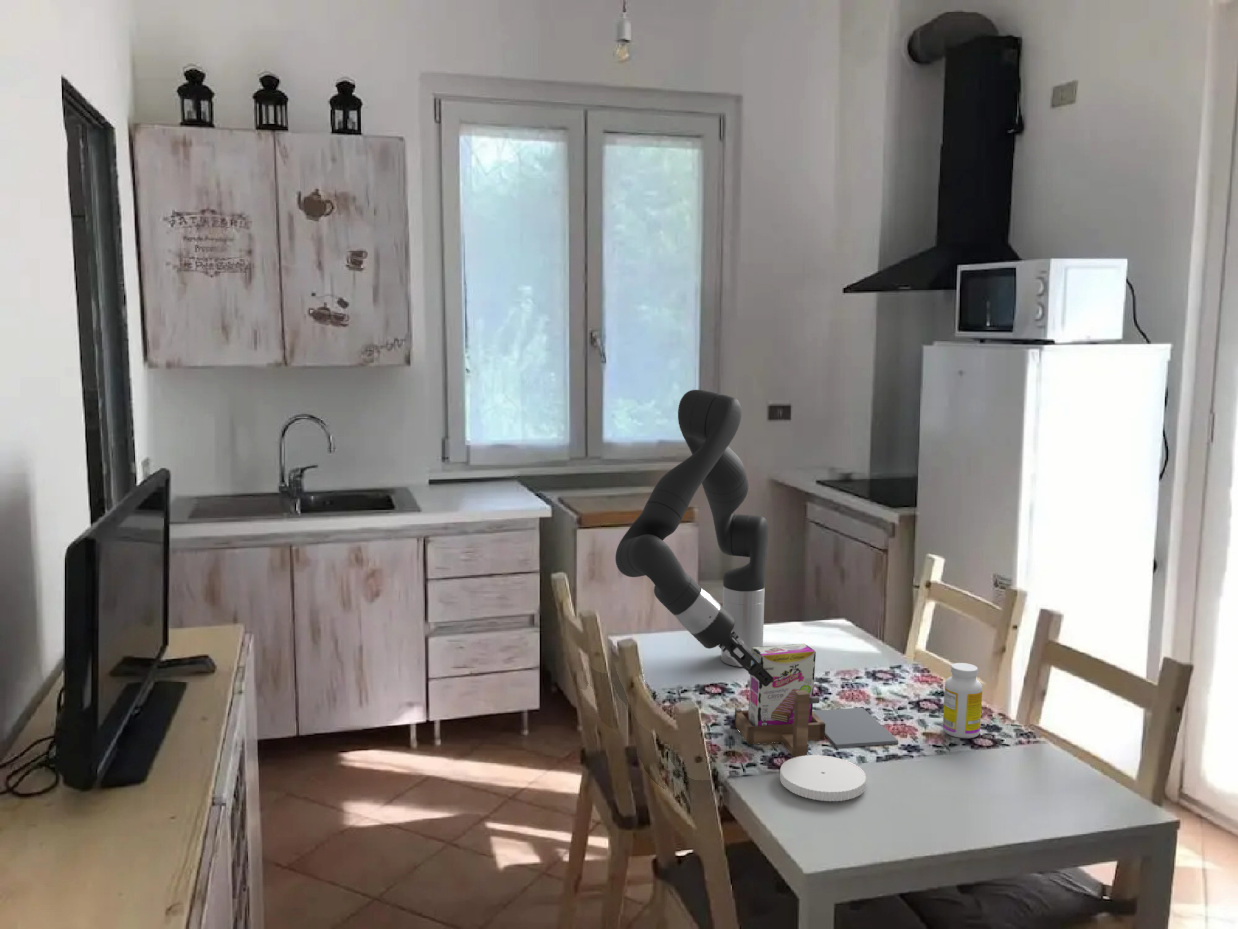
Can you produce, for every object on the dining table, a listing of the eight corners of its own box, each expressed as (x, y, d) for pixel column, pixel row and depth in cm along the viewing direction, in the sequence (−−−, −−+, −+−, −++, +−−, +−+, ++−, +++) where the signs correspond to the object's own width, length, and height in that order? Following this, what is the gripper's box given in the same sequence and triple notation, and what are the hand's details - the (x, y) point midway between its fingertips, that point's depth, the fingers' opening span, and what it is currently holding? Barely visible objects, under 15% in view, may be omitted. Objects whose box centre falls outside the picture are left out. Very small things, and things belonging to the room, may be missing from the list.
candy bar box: (758, 741, 190) (761, 655, 187) (747, 731, 194) (749, 646, 192) (813, 735, 193) (817, 650, 191) (801, 725, 198) (804, 641, 195)
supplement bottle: (981, 729, 197) (985, 664, 195) (977, 742, 191) (982, 675, 189) (944, 723, 199) (948, 658, 198) (939, 735, 193) (943, 669, 192)
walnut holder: (723, 710, 204) (725, 652, 202) (794, 706, 207) (796, 648, 205) (761, 762, 181) (763, 696, 179) (840, 757, 183) (843, 692, 182)
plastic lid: (799, 762, 182) (800, 748, 182) (877, 782, 175) (878, 768, 174) (765, 792, 170) (766, 778, 170) (847, 815, 163) (848, 800, 163)
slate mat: (804, 714, 203) (804, 711, 203) (862, 710, 205) (862, 707, 205) (835, 747, 187) (836, 744, 187) (898, 743, 190) (898, 740, 189)
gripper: (729, 613, 181) (789, 673, 185) (707, 591, 195) (764, 647, 198) (698, 644, 181) (759, 703, 184) (679, 620, 195) (736, 675, 198)
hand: (762, 674), depth 191 cm, fingers open, 8 cm apart
